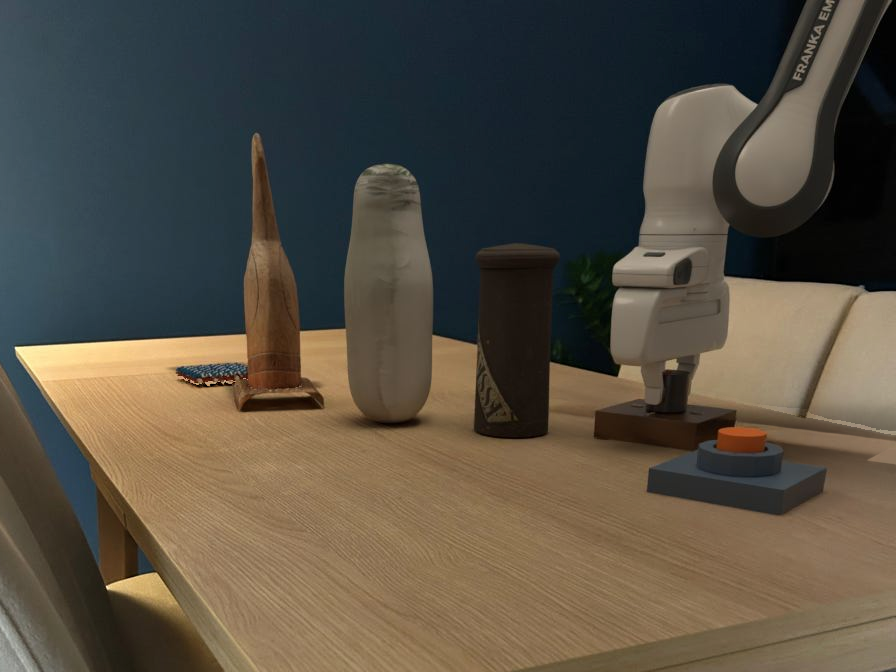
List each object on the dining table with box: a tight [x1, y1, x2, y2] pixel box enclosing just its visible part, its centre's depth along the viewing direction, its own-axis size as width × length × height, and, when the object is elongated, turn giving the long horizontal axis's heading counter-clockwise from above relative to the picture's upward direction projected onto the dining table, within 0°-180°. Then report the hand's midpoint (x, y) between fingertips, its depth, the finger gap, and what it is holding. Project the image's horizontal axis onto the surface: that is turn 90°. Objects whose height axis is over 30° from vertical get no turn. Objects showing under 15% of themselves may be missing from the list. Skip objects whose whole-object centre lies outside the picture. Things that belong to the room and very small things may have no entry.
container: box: [473, 242, 561, 438], centre depth 107 cm, size 9×9×20 cm
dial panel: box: [593, 398, 738, 452], centre depth 107 cm, size 12×10×3 cm
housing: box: [646, 440, 828, 516], centre depth 85 cm, size 12×10×4 cm
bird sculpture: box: [232, 132, 325, 411], centre depth 123 cm, size 11×12×32 cm
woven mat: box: [175, 361, 248, 384], centre depth 147 cm, size 10×11×2 cm
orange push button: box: [716, 426, 768, 453], centre depth 84 cm, size 4×4×2 cm
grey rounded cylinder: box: [343, 163, 434, 424], centre depth 112 cm, size 10×10×28 cm
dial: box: [646, 368, 691, 413], centre depth 106 cm, size 4×4×4 cm
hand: (667, 400), depth 106 cm, fingers closed on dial, 4 cm apart
